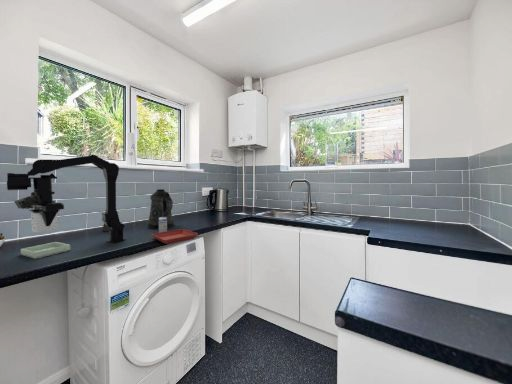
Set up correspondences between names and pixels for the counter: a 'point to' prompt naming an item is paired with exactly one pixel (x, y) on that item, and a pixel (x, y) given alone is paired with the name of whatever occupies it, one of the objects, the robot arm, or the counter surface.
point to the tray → (45, 250)
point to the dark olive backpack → (160, 209)
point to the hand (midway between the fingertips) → (45, 225)
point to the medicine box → (162, 224)
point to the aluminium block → (42, 223)
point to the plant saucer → (174, 236)
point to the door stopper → (106, 227)
